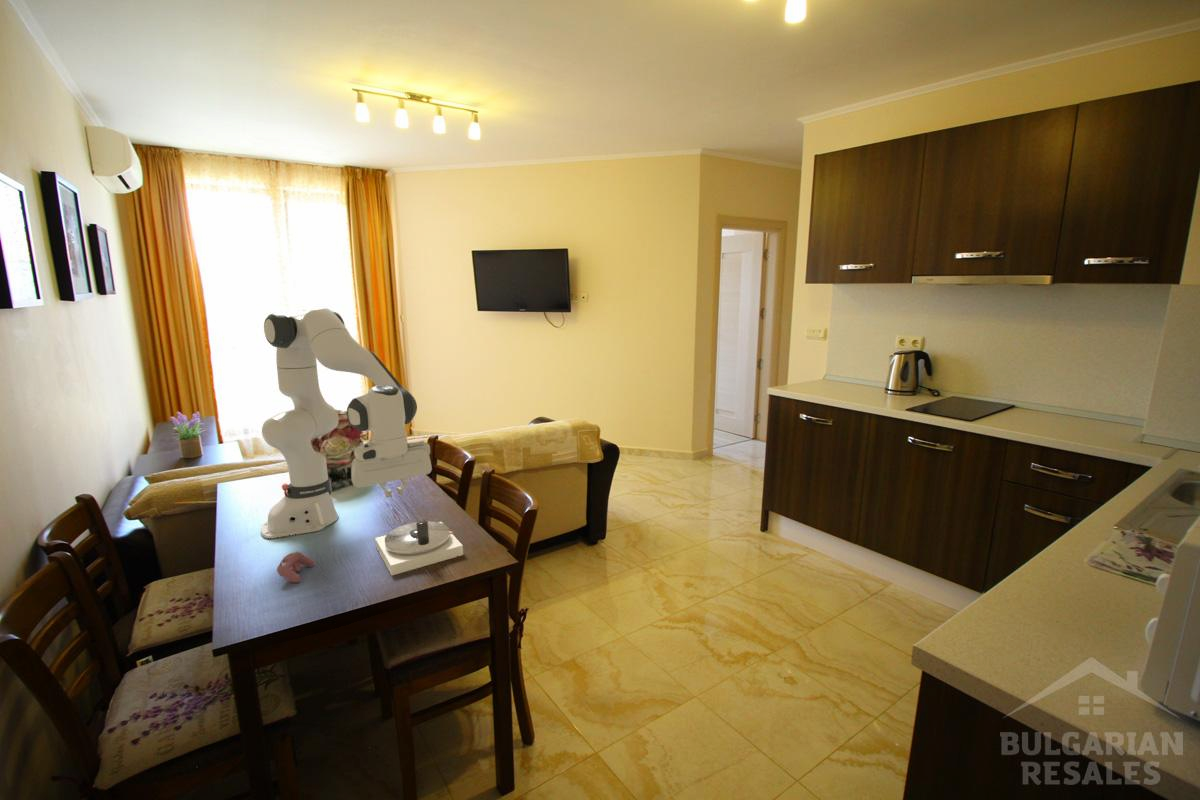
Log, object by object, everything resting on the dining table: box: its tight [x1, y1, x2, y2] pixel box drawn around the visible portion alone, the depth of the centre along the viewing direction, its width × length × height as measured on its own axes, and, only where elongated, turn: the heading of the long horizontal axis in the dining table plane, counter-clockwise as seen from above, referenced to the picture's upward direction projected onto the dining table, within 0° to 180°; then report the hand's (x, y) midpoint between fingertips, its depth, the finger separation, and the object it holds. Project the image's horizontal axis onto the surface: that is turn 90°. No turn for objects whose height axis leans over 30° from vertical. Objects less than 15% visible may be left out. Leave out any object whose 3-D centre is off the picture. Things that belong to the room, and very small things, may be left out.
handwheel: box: [385, 520, 450, 556], centre depth 156 cm, size 18×18×8 cm
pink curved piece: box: [276, 550, 315, 584], centre depth 145 cm, size 10×5×7 cm, turn 5°
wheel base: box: [374, 521, 464, 576], centre depth 157 cm, size 20×20×3 cm
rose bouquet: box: [311, 409, 368, 493], centre depth 215 cm, size 26×29×30 cm
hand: (394, 495), depth 145 cm, fingers closed
